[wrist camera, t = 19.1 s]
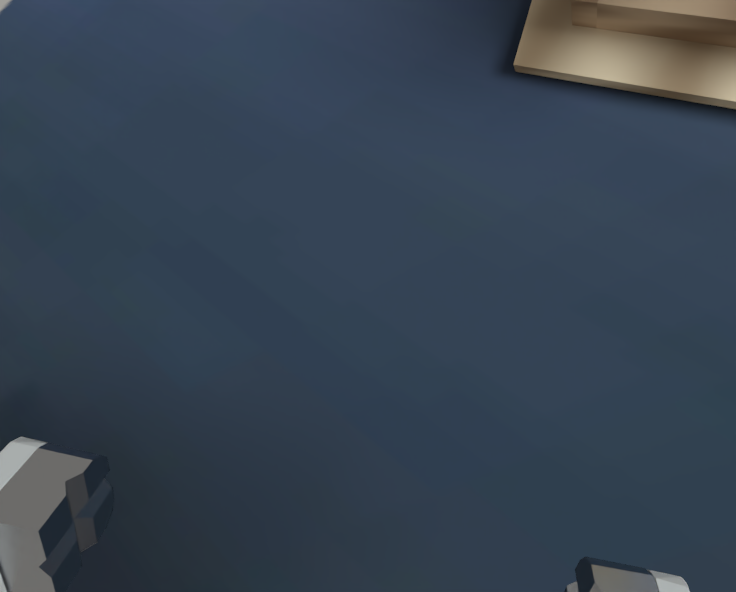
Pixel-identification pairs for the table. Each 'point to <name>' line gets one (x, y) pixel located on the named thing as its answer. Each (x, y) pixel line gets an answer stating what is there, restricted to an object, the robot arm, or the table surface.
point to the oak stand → (636, 46)
